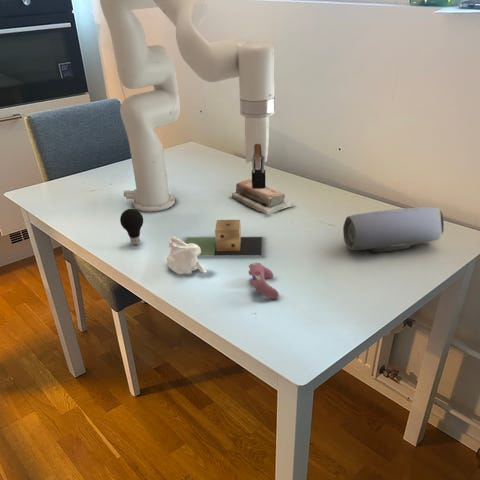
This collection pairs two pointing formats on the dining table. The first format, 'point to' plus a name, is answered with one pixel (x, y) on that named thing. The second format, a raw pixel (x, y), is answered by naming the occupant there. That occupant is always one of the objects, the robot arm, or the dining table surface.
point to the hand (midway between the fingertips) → (258, 187)
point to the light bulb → (132, 224)
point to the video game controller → (262, 280)
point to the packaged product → (260, 197)
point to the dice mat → (209, 249)
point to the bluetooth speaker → (393, 228)
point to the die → (228, 235)
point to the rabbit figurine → (184, 257)
